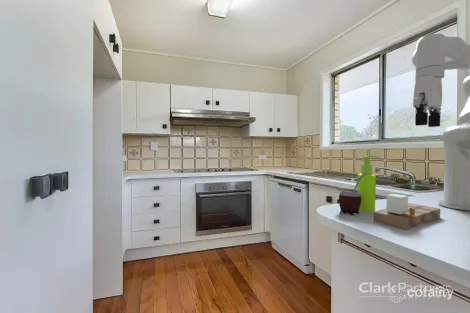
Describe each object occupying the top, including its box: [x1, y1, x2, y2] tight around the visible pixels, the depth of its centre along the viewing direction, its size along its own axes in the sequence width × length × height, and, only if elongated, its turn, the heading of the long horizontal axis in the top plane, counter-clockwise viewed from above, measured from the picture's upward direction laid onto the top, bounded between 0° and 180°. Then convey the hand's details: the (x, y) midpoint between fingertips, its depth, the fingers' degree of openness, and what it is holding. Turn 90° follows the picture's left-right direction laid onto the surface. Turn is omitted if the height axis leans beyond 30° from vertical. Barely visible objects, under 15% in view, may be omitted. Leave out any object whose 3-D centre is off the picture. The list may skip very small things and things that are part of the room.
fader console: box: [372, 202, 441, 231], centre depth 76 cm, size 23×9×6 cm, turn 121°
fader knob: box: [385, 193, 409, 214], centre depth 72 cm, size 4×4×5 cm
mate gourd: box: [338, 172, 368, 217], centre depth 82 cm, size 8×8×15 cm
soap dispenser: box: [356, 155, 380, 213], centre depth 86 cm, size 6×7×20 cm
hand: (427, 125), depth 80 cm, fingers open, 9 cm apart
